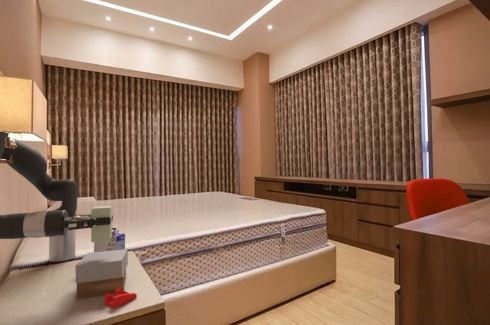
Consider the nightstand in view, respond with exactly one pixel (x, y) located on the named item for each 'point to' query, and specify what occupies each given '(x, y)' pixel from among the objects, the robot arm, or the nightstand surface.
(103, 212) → the sage green tall block
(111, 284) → the walnut base block
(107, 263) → the slate grey top block
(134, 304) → the nightstand surface
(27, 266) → the nightstand surface
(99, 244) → the ink cartridge box
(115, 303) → the red lumpy piece
